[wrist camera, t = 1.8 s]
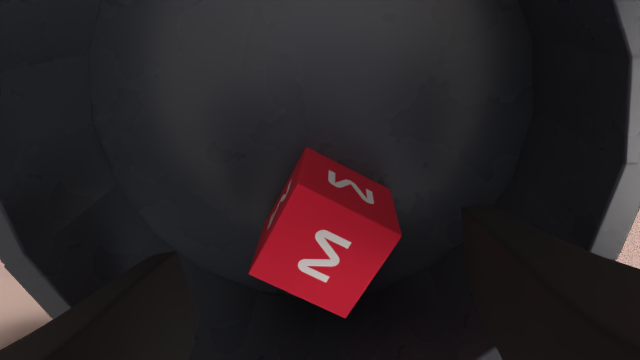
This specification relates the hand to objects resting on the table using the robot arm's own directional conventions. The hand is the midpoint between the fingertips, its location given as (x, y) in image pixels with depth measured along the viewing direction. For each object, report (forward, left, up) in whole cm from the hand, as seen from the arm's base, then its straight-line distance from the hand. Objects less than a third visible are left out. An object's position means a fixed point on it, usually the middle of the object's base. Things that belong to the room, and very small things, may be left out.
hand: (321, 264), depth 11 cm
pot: (+3, 0, -4) cm, 5 cm away
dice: (0, 0, -4) cm, 4 cm away
